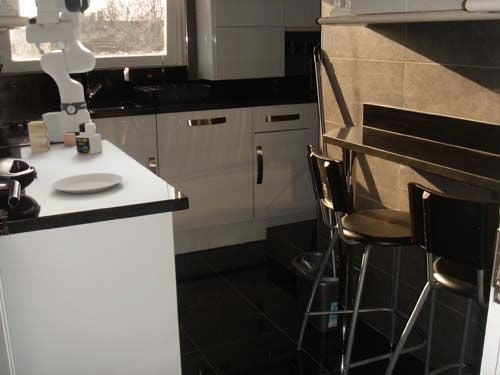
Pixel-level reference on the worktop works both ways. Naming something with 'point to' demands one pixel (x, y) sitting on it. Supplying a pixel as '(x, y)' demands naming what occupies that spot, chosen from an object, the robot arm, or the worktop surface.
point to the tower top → (37, 127)
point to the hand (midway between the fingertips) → (53, 53)
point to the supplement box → (55, 125)
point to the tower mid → (38, 137)
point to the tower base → (40, 147)
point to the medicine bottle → (88, 139)
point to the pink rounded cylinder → (69, 139)
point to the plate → (87, 183)
